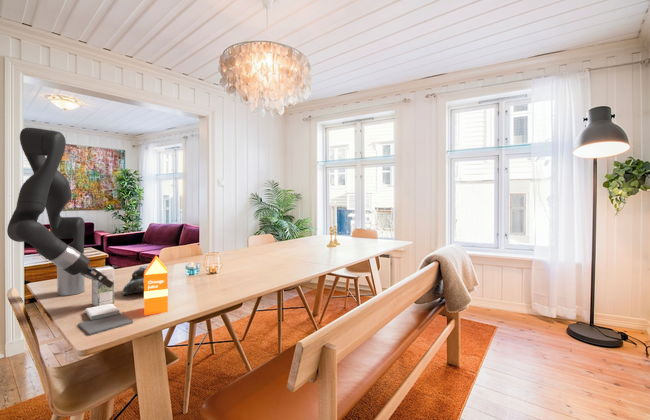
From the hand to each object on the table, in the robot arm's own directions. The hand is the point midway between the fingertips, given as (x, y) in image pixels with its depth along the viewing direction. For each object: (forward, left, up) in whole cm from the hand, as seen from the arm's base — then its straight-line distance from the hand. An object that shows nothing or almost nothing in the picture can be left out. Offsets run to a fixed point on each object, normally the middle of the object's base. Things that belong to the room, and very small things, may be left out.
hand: (106, 283), depth 121 cm
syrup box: (0, -1, -8) cm, 8 cm away
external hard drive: (+13, -5, -8) cm, 16 cm away
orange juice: (+22, +9, -8) cm, 25 cm away
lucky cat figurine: (-4, +14, -8) cm, 16 cm away
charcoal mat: (+23, -7, -8) cm, 25 cm away
